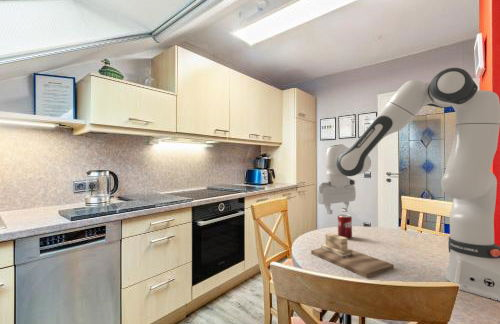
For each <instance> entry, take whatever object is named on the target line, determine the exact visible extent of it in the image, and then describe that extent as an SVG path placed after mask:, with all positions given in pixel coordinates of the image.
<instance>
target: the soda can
mask: <svg viewBox="0 0 500 324" xmlns="http://www.w3.org/2000/svg"><path fill="white" fill-rule="evenodd" d="M337 235H339V236H342V237H345V238H347V240H351V239H352V238H353V217H352V216H351V215H349V214H338V215H337Z"/></svg>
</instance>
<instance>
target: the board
mask: <svg viewBox="0 0 500 324" xmlns="http://www.w3.org/2000/svg"><path fill="white" fill-rule="evenodd" d="M351 250H352V249H351ZM310 253H311V255H313V256H315V257H317V258H320V259H322V260H324V261H327V262H328V263H331V264H334V265H336V266H338V267H341V268H343V269H345V270H347V271H350V272H352V273H355V274H357V275H359V276H360V277H361V276H362V277H364V278H365V277H366V278H365V279H367V278H368V277H369V278H372V277H374V276H376V275H379V274H382V273H384V272H388V271H390V270H393V269H394V266H395V265H394V264H393V263H391V262H388V261H386V260H385V261H384V260H382V259H379V258H376V257H373V256H371V255H368V254H365V253H361V252H360V251H355V250H352V254H353V255H351V256H347V257H343V258H342V257H340V256H337V255H335V254H332V253H330V252H327V251H325V250H322V247H320V248H317V249H316V248H315V249H311V250H310Z"/></svg>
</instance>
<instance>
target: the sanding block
mask: <svg viewBox="0 0 500 324" xmlns="http://www.w3.org/2000/svg"><path fill="white" fill-rule="evenodd" d="M320 248H322V250H325V251H327V252H330V253H332V254H335V255H337V256H340V257H342V258H343V257H347V256H351V255H353V254H352V249H350V248H349V247H348V239H347V238H345V237H342V236H339V235H338V234H335V233H332V232H331V233H326V234H325V243H324V244H321V247H320Z"/></svg>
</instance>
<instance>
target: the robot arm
mask: <svg viewBox="0 0 500 324" xmlns="http://www.w3.org/2000/svg"><path fill="white" fill-rule="evenodd" d="M478 87H479V86H478V85H477V83H476V82H475V81H474V79H473V76H471V75H470V73H469V72H468V71H466V69H463V68H460V67H449V68H446V69H443V70H441V71H439V72H438V73H437V74H436V75H435V76H434V77H433V78H432V80H431V81H430V82H423V81H422V80H418V79H409V80H408V81H406V82H404V83H403V84H402V85H401V86H400V87H399V88H398V89H397V90H396V91H395V92H394V93H393V94H392V95H391V97H390V98H389V99H388V100H387V101H386V103H385V104H384V106H383V107H382V109H381V110H380V111H379V113H378V115H376V117H375V119H373V121H372V123H371V124H370V125H369V127H367V128H366V130H365V131H364V132H363V133H362V134H361V136H360V137H359V138H358V139H357V140H356V142H355V143H354V144H353V145H352V146H351V147H348V146H347V145H345V144H335V145H332V146H329V147H328V148H327V150H326V153H325V166H326V173H325V177H326V179H325V182H321V183H320V185H319V186H318V192H317V203H318V204H319V205H324V207H325V209H326V214H327V215H333V209H332V208H331V206H332V204H340V203H343V207H341V211H342V212H343V213H346V212H347V213H348V208H349V205H350V202H355V200H356V195H357V193H356V186H355V185H356V179H352V178H349V177H354V176H358V175H362V174H364V173H366V172H367V171H369V170H370V168H371V166H372V160H371V158H370V156H369V155H370V153H371V152H372V151H373V149H375V148H376V146H377V145H378V144H379V143H380V142H381V141H382V140H383V139H384V138H386V137H387V136H389V135H392V134H394V133H396V132H400V131H402V130H403V129H404V128H405V127H406V126H408V124H409V123H411V121H412V120H413V119H414V118H415V116H417V114H418V113H419V112H420V110H422V109H423V107H425V106H429V107H430V106H431V107H435V108H440V109H441V108H443V109H447V108H453V110H454V113H455V120H454V129H453V137H452V145H451V150H450V154H449V157H448V160H447V163H446V167H445V172H444V174H443V175H442V177H441V179H440V186H441V189H442V191H443V193H445V194H446V195H447V196H448V197H451V198H453V200H452V205H451V210H450V212H449V237H448V240H447V241H448V242H447V245H448V246H447V247H448V252H449V261H448V266H447V269H446V272H445V276H444V277H445V279H446V280H447V281H449V282H450V283H451V282H454V283H457V284H459V285H460V289H459V290H460V291H464V292H467V293H470V294H473V295H477V296H480V297H484V298H488V299H490V298H491V300H494V301H497V300H498V302H500V245H498V244H496V242H495V226H494V224H495V223H494V221H495V210H496V202H497V201H496V200H497V185H498V180H497V177H496V176H495V175H496V174H494V172H492V171H491V168H492V165H493V162H494V158H495V155H496V152H497V149H498V144H499V143H498V142H499V133H500V98H499V95H498V94H497V93H496V92H494V91H492V90H491V91H490V90H483V89H480V90H478V89H479V88H478Z"/></svg>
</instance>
